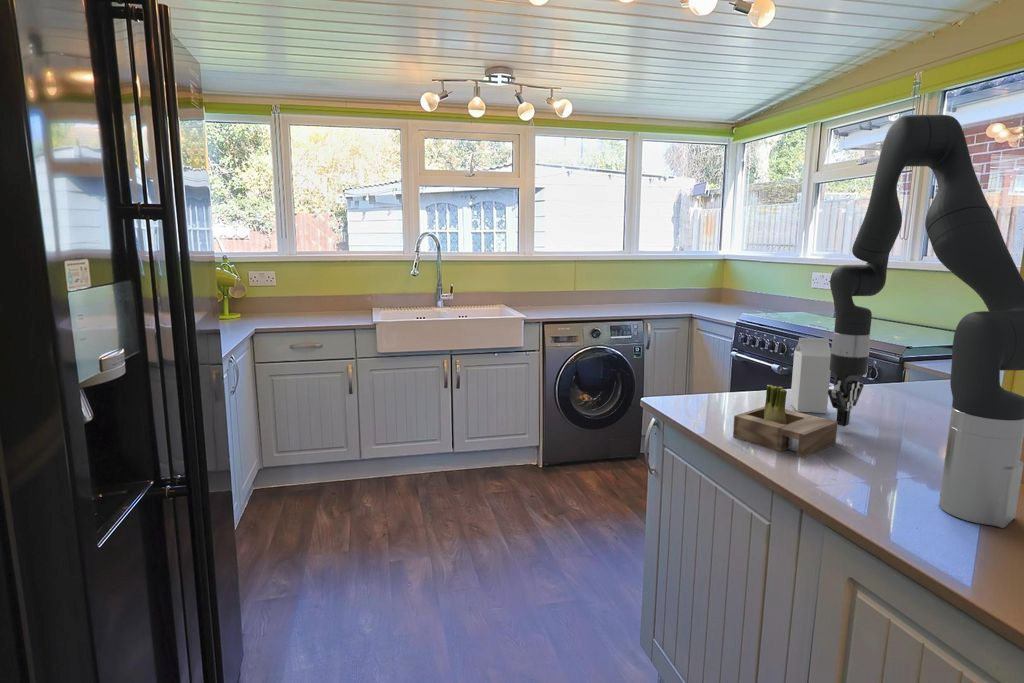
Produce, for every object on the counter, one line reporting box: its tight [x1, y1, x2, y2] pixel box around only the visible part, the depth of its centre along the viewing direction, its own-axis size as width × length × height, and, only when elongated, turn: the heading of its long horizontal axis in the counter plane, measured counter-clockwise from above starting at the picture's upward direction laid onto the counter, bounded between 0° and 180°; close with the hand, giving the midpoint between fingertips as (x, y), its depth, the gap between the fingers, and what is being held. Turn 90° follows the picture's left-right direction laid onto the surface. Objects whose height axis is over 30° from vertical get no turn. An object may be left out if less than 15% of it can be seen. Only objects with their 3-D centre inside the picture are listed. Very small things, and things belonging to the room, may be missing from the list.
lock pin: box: [787, 437, 799, 453], centre depth 124 cm, size 4×13×4 cm, turn 126°
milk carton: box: [789, 337, 832, 414], centre depth 150 cm, size 7×7×19 cm
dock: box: [732, 405, 838, 459], centre depth 128 cm, size 16×14×5 cm
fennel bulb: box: [764, 384, 788, 425], centre depth 129 cm, size 6×5×12 cm
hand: (842, 424), depth 134 cm, fingers closed
